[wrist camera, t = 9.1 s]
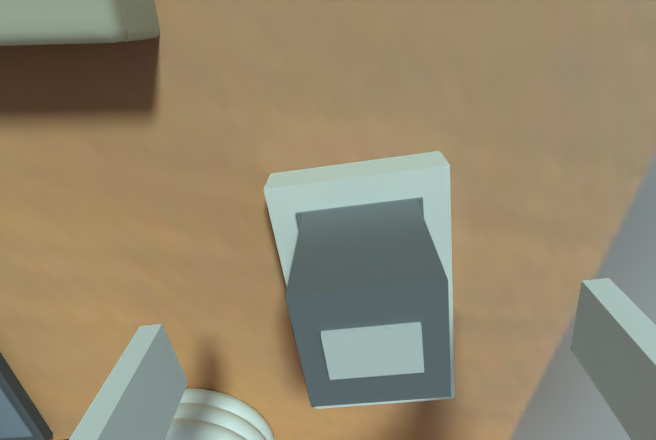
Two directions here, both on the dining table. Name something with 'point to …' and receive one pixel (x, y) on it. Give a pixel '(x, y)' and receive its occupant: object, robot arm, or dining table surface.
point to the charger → (370, 306)
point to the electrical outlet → (76, 21)
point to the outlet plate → (362, 190)
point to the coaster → (216, 418)
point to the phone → (18, 410)
